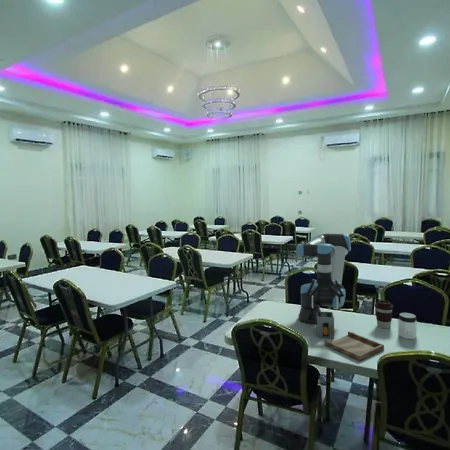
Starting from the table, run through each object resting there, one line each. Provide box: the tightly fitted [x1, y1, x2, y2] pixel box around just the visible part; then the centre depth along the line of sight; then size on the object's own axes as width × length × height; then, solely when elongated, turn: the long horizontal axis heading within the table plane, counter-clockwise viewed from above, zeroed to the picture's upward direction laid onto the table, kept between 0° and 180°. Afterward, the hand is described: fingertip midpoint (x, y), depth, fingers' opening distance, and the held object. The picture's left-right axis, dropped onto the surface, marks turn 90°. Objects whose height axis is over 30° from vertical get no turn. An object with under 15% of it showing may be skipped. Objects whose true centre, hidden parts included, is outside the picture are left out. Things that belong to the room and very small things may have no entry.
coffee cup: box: [374, 300, 394, 330], centre depth 191 cm, size 10×10×15 cm
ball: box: [323, 327, 329, 336], centre depth 184 cm, size 5×5×5 cm
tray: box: [324, 330, 385, 362], centre depth 168 cm, size 21×20×2 cm
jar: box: [397, 312, 418, 340], centre depth 178 cm, size 9×8×12 cm
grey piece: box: [316, 311, 335, 340], centre depth 183 cm, size 9×9×12 cm
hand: (324, 307), depth 182 cm, fingers open, 13 cm apart
